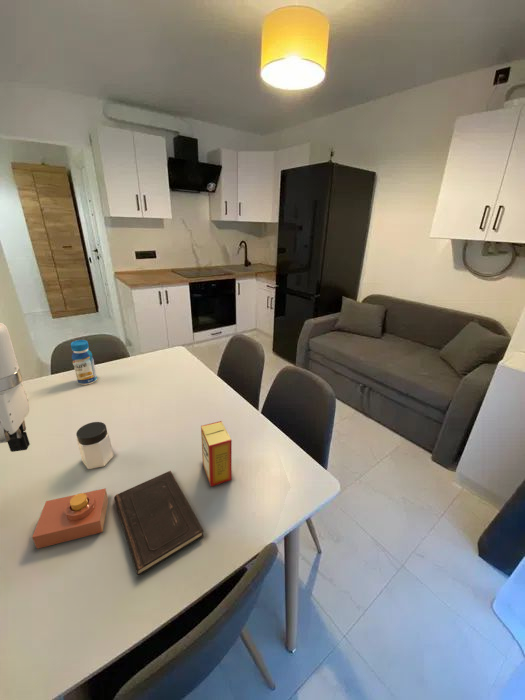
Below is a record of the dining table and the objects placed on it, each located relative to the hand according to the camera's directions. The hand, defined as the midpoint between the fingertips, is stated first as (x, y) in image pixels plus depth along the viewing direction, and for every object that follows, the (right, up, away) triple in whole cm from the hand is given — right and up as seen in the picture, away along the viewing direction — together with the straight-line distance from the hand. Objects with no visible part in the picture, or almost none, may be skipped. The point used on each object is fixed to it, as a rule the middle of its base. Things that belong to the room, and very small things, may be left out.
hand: (20, 448), depth 68 cm
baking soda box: (+42, -16, +24) cm, 51 cm away
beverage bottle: (-27, +8, +71) cm, 77 cm away
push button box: (+8, -22, +7) cm, 24 cm away
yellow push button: (+10, -16, +6) cm, 20 cm away
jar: (+3, -13, +27) cm, 30 cm away
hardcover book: (+29, -22, +9) cm, 37 cm away
